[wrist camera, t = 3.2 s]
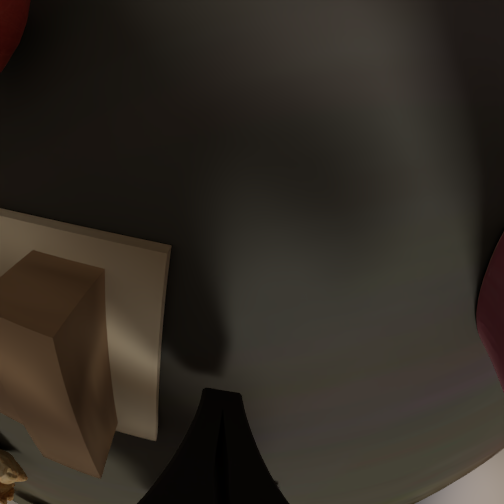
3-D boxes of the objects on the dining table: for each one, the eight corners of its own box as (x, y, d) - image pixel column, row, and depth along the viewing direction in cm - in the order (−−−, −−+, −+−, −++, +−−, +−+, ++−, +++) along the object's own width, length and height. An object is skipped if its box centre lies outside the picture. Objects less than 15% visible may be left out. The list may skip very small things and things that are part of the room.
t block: (118, 422, 13) (101, 478, 9) (-9, 370, 12) (-35, 411, 8) (105, 268, 9) (52, 338, 6) (-50, 224, 8) (-102, 259, 5)
